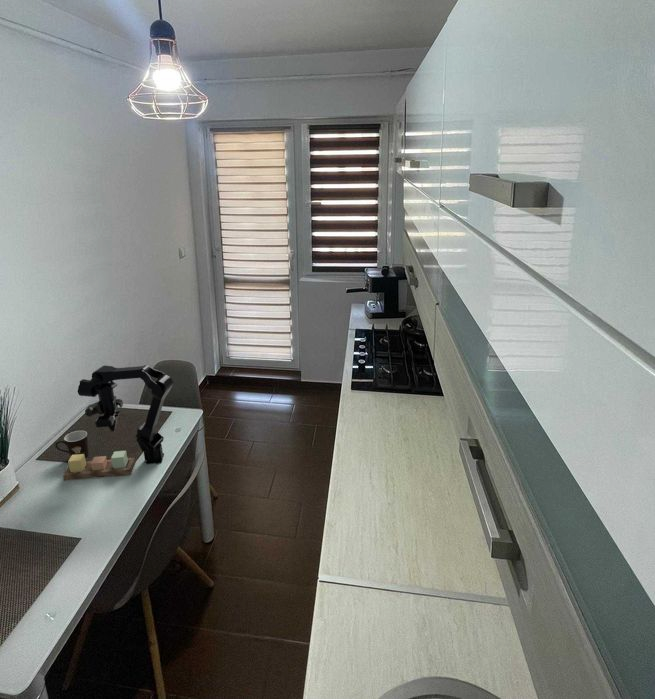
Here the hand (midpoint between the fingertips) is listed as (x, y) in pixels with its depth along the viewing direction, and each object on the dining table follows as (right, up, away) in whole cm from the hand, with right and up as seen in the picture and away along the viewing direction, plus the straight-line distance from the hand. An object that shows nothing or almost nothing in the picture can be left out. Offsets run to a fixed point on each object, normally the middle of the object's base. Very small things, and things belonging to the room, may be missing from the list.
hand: (113, 430), depth 202 cm
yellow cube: (-10, -14, -8) cm, 19 cm away
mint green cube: (+5, -13, -6) cm, 15 cm away
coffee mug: (-17, -12, +4) cm, 21 cm away
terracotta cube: (-2, -15, -6) cm, 16 cm away
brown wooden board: (-2, -15, -6) cm, 16 cm away
